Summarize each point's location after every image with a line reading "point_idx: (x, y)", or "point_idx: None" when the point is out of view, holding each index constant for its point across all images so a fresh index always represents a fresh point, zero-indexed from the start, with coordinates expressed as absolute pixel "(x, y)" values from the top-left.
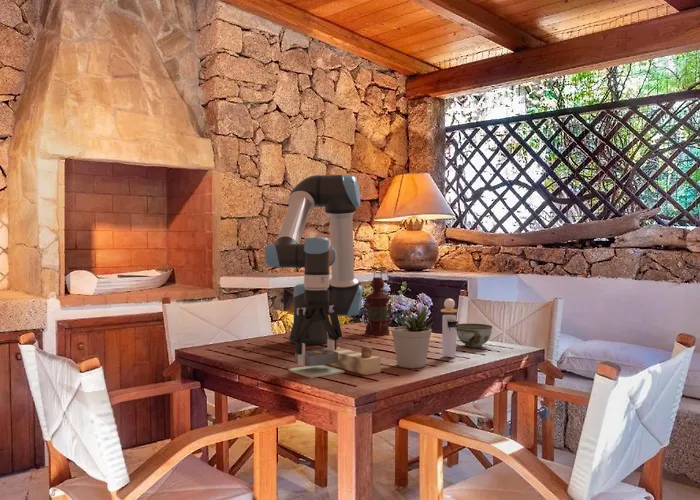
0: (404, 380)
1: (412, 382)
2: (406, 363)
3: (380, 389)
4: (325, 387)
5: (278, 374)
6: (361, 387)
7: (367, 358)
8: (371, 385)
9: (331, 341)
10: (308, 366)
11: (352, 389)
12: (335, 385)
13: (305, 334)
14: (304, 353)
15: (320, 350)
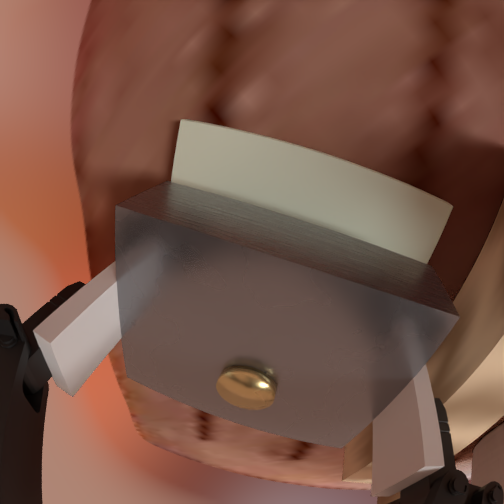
0: (331, 480)
1: (321, 487)
2: (474, 456)
3: (222, 466)
4: (134, 393)
5: (101, 150)
6: (205, 447)
7: (367, 479)
8: (237, 457)
9: (379, 481)
10: (335, 175)
11: (176, 436)
12: (167, 407)
13: (33, 455)
14: (111, 341)
15: (356, 356)
